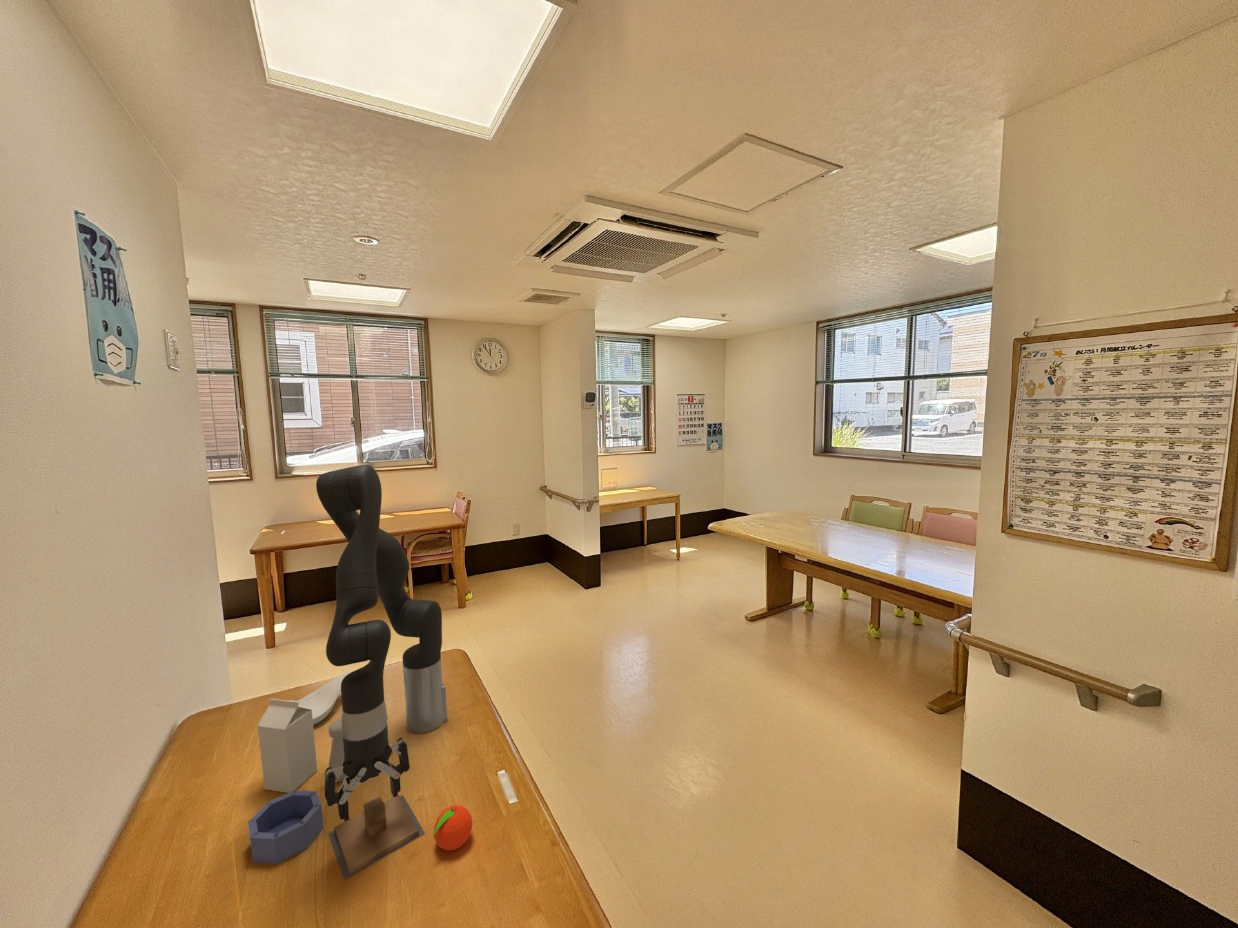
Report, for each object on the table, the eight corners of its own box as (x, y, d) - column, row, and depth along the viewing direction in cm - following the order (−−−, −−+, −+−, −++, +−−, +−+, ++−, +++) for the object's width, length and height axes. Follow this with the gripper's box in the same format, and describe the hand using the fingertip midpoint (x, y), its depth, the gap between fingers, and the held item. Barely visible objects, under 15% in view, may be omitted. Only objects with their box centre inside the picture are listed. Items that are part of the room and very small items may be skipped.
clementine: (446, 871, 87) (444, 835, 87) (422, 853, 91) (419, 818, 90) (481, 838, 94) (479, 804, 93) (456, 822, 98) (454, 789, 97)
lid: (398, 798, 103) (396, 772, 103) (419, 834, 94) (417, 806, 94) (334, 831, 96) (331, 803, 95) (349, 874, 87) (347, 843, 86)
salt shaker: (328, 790, 107) (323, 734, 106) (329, 773, 112) (324, 719, 111) (358, 780, 110) (353, 725, 108) (358, 764, 115) (354, 712, 113)
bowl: (315, 806, 103) (313, 781, 102) (327, 840, 94) (324, 814, 94) (249, 837, 95) (246, 811, 95) (255, 877, 87) (252, 849, 86)
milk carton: (291, 794, 106) (283, 711, 104) (264, 789, 108) (255, 708, 105) (317, 770, 113) (310, 692, 111) (291, 766, 114) (284, 689, 112)
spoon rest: (303, 739, 124) (301, 713, 124) (273, 728, 129) (270, 703, 128) (381, 690, 146) (379, 667, 145) (353, 682, 151) (351, 660, 150)
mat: (403, 797, 105) (403, 794, 104) (425, 836, 95) (425, 833, 95) (328, 835, 95) (328, 832, 95) (344, 883, 86) (344, 879, 86)
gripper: (398, 702, 100) (403, 777, 101) (317, 732, 91) (324, 814, 92) (410, 719, 94) (415, 798, 96) (325, 753, 85) (332, 839, 87)
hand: (370, 805), depth 94 cm, fingers open, 8 cm apart
